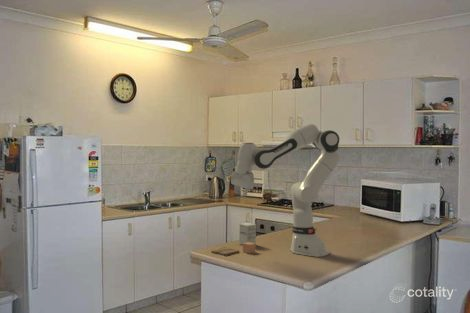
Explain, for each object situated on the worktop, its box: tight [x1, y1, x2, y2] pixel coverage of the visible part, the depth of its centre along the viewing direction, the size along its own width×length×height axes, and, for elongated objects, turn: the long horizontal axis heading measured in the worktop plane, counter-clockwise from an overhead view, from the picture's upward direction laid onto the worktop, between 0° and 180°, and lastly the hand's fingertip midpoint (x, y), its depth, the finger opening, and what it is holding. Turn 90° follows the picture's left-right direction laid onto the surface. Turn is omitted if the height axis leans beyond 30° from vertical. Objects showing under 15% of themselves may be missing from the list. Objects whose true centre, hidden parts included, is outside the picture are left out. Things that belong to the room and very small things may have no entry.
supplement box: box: [238, 222, 257, 246], centre depth 248 cm, size 7×7×13 cm
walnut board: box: [211, 246, 240, 257], centre depth 229 cm, size 11×11×1 cm
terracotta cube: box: [242, 242, 257, 255], centre depth 230 cm, size 5×5×5 cm
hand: (240, 194), depth 232 cm, fingers open, 8 cm apart
